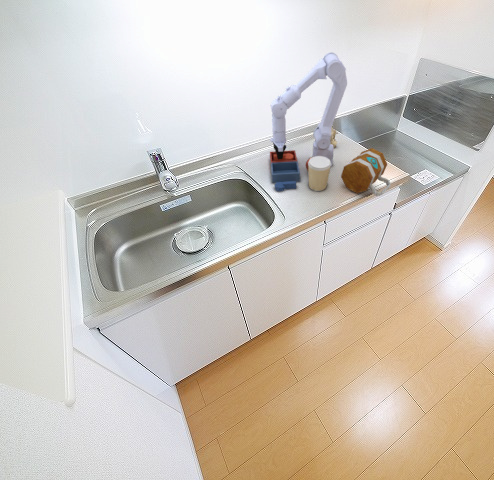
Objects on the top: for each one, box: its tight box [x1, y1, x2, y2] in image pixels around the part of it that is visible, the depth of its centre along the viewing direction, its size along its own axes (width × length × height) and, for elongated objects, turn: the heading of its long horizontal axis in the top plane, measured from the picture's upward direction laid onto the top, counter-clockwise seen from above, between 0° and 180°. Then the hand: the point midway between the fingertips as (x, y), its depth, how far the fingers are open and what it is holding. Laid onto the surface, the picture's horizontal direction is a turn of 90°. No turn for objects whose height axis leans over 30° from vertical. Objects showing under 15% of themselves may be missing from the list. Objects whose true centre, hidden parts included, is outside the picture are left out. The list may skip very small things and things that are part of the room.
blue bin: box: [270, 160, 301, 184], centre depth 123 cm, size 9×12×4 cm
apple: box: [305, 156, 312, 173], centre depth 124 cm, size 8×8×8 cm
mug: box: [340, 147, 392, 197], centre depth 116 cm, size 20×14×15 cm
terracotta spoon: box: [274, 153, 293, 161], centre depth 128 cm, size 9×4×3 cm, turn 95°
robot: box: [330, 126, 339, 149], centre depth 138 cm, size 10×8×15 cm
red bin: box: [269, 149, 298, 164], centre depth 130 cm, size 9×12×4 cm
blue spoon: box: [274, 181, 297, 193], centre depth 118 cm, size 9×4×3 cm, turn 95°
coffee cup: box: [308, 156, 332, 192], centre depth 116 cm, size 9×9×12 cm
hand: (279, 157), depth 128 cm, fingers closed on terracotta spoon
